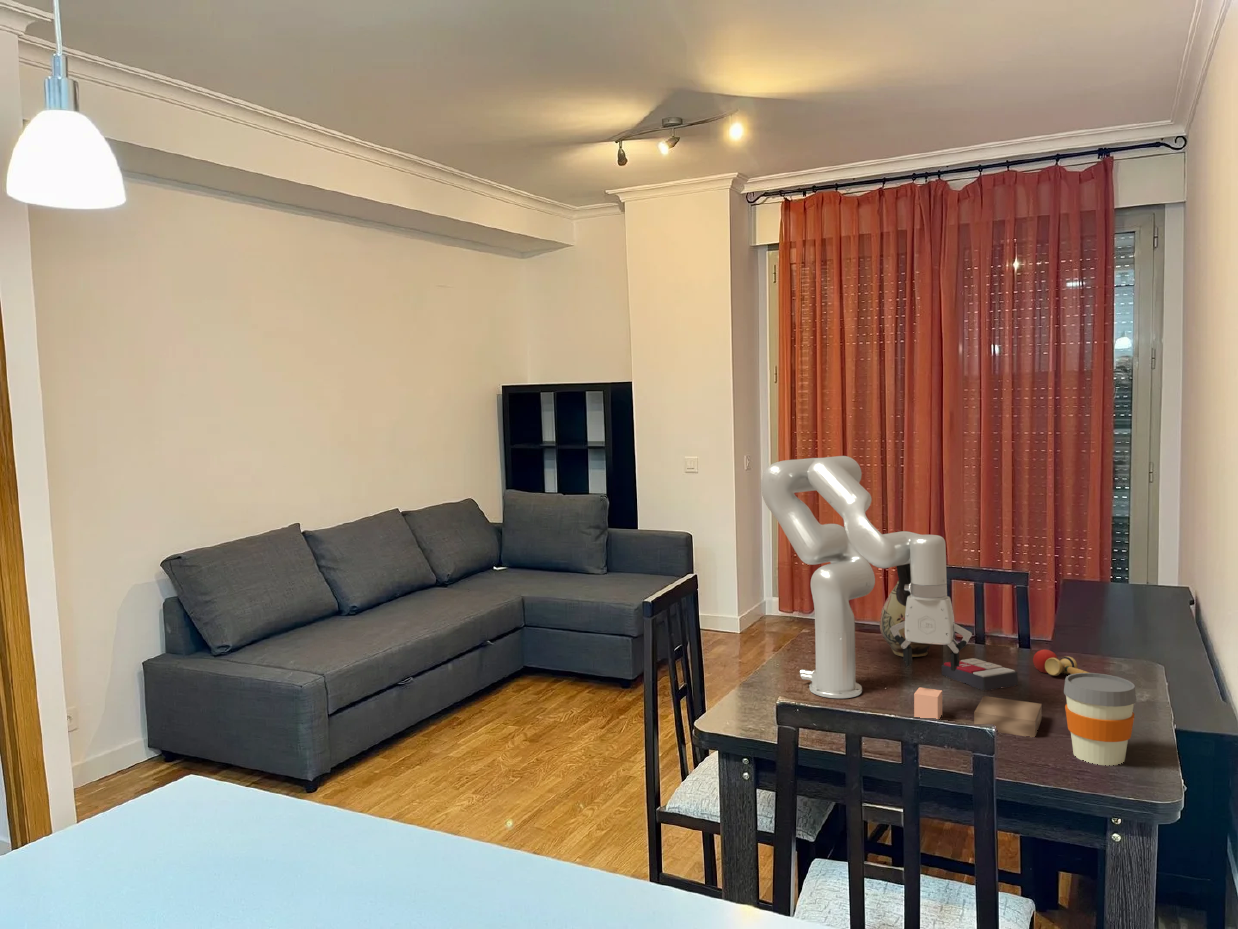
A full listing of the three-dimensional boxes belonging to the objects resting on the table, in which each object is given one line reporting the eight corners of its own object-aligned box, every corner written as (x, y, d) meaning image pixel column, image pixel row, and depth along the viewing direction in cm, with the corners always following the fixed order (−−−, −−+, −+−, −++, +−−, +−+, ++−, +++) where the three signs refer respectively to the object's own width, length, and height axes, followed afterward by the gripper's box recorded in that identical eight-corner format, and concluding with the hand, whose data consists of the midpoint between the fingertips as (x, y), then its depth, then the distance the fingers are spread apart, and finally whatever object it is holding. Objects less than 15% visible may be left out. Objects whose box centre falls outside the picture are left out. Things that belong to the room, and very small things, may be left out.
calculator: (973, 656, 235) (1018, 669, 221) (974, 672, 235) (1018, 686, 221) (940, 661, 231) (983, 674, 217) (941, 678, 231) (984, 692, 217)
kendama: (1110, 689, 220) (1045, 662, 235) (1111, 666, 218) (1046, 640, 234) (1090, 700, 216) (1026, 672, 232) (1090, 677, 215) (1026, 650, 230)
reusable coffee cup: (1071, 740, 185) (1072, 668, 184) (1140, 753, 177) (1141, 679, 176) (1056, 759, 175) (1056, 684, 174) (1128, 775, 167) (1129, 696, 166)
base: (974, 730, 193) (974, 712, 192) (983, 713, 203) (983, 695, 203) (1035, 739, 186) (1035, 721, 186) (1041, 721, 197) (1041, 704, 196)
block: (914, 720, 199) (914, 693, 198) (919, 713, 203) (919, 687, 203) (937, 723, 196) (937, 697, 196) (942, 716, 200) (942, 690, 200)
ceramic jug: (887, 643, 261) (886, 542, 259) (942, 650, 253) (942, 545, 251) (871, 658, 246) (871, 551, 244) (929, 665, 238) (929, 554, 236)
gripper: (885, 591, 199) (887, 667, 199) (967, 596, 190) (969, 675, 190) (893, 585, 205) (896, 659, 206) (973, 590, 196) (975, 667, 197)
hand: (931, 667), depth 198 cm, fingers open, 9 cm apart
